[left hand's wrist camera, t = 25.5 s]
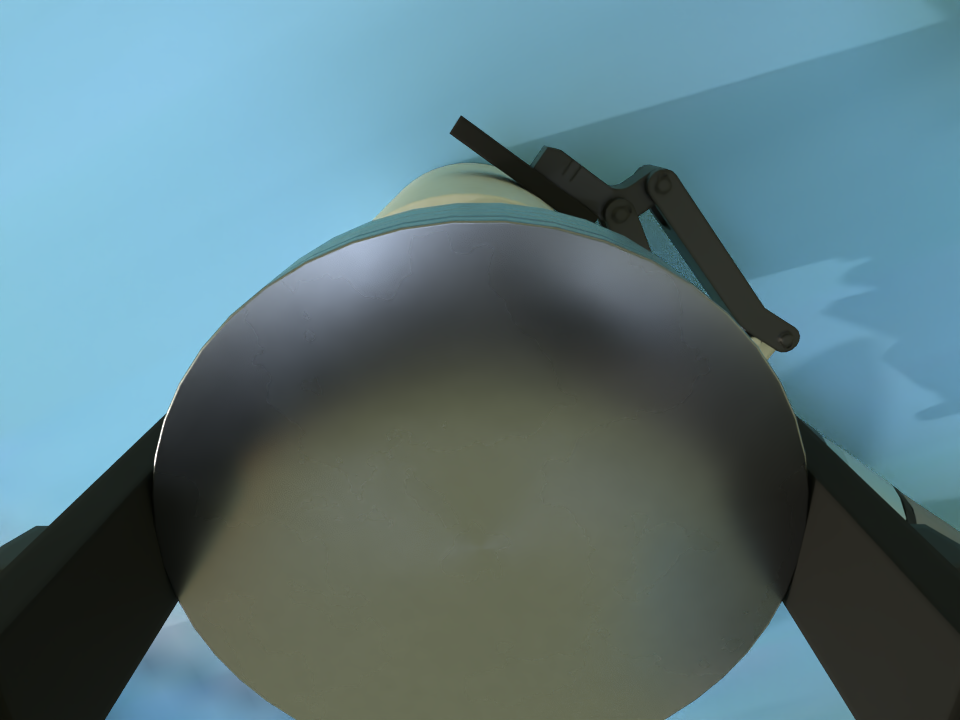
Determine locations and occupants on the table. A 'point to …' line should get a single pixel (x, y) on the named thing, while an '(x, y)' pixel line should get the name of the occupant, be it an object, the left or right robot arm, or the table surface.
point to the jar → (461, 189)
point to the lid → (480, 477)
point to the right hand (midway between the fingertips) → (384, 238)
